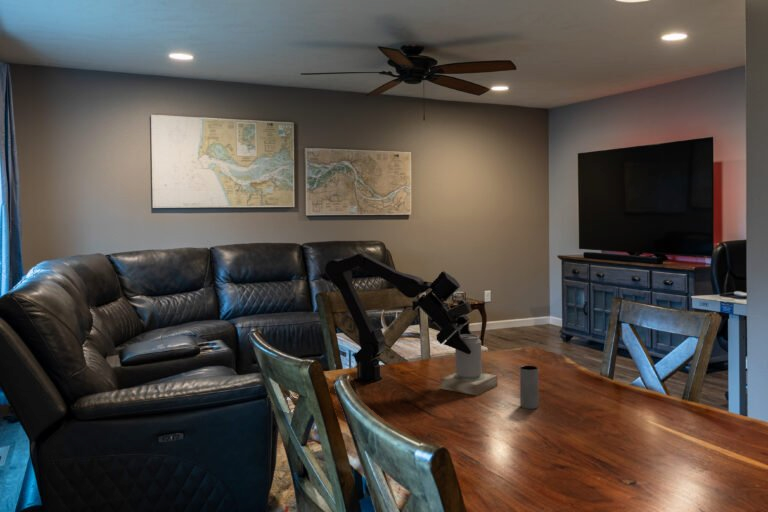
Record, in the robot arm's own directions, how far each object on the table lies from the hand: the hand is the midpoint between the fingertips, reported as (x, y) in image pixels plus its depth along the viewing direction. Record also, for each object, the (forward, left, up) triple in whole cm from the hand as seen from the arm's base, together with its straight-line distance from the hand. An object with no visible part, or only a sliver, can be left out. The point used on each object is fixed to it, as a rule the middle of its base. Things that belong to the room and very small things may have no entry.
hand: (473, 349), depth 178 cm
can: (-1, 0, -8) cm, 8 cm away
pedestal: (-1, 0, -11) cm, 11 cm away
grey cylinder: (+21, -7, -11) cm, 25 cm away
